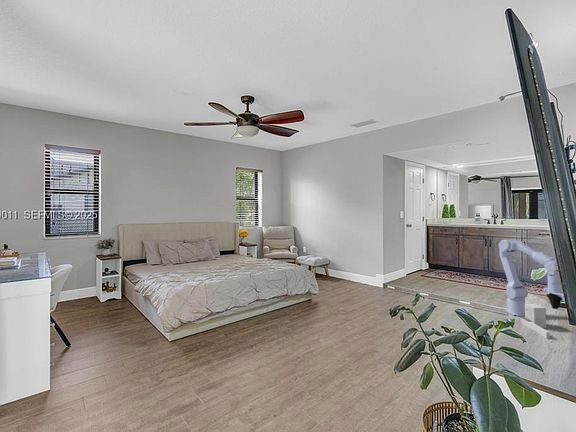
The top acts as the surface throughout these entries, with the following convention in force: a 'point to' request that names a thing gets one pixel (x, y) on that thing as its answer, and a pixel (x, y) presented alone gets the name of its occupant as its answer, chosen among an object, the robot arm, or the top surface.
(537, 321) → the small box
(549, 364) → the top surface
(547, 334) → the light grey long bar
